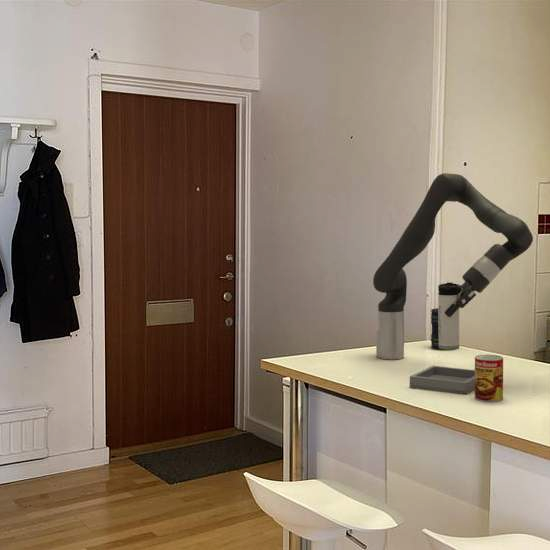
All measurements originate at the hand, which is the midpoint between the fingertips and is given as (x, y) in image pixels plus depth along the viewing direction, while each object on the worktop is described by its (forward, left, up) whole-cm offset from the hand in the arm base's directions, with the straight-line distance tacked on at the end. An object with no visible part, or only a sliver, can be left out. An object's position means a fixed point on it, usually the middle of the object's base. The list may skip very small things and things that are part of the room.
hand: (443, 313), depth 243 cm
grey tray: (+1, +1, -22) cm, 22 cm away
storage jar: (-23, +58, -23) cm, 66 cm away
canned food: (+17, -9, -23) cm, 30 cm away
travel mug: (+1, +1, -11) cm, 11 cm away
